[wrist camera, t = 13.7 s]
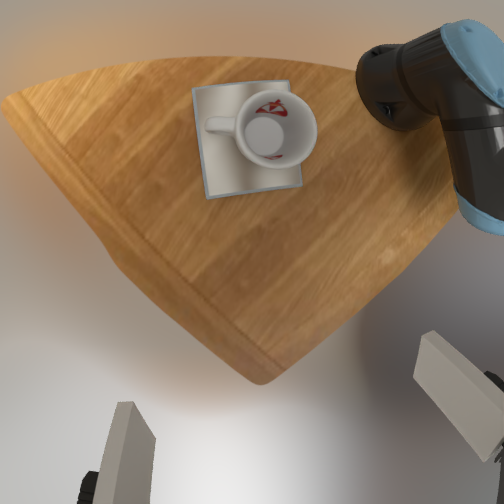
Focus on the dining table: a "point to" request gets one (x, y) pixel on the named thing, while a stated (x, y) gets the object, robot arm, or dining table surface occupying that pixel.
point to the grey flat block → (234, 143)
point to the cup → (270, 129)
